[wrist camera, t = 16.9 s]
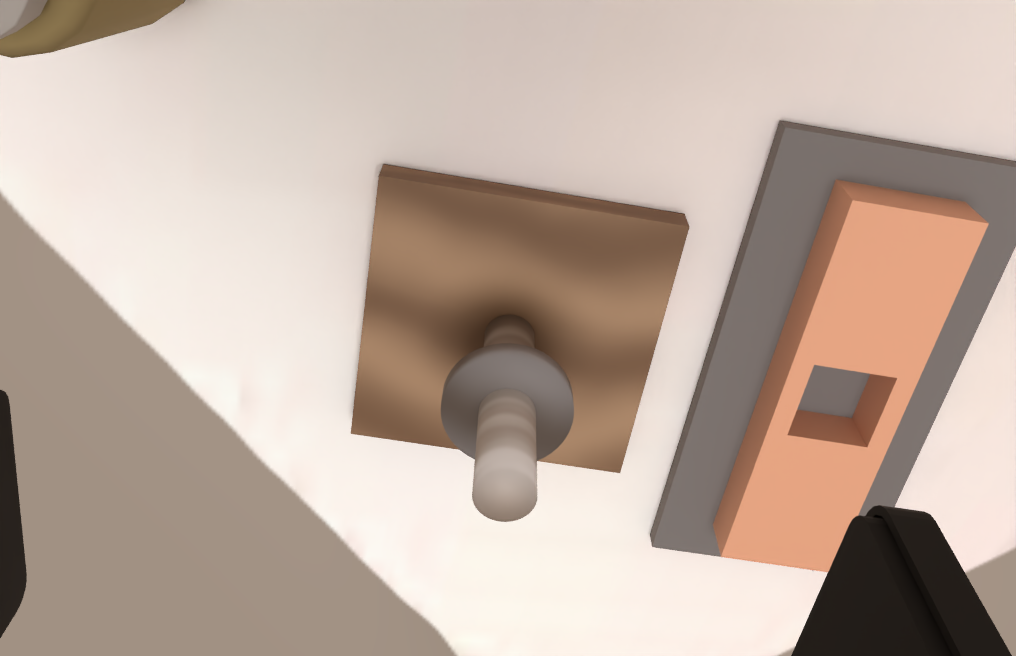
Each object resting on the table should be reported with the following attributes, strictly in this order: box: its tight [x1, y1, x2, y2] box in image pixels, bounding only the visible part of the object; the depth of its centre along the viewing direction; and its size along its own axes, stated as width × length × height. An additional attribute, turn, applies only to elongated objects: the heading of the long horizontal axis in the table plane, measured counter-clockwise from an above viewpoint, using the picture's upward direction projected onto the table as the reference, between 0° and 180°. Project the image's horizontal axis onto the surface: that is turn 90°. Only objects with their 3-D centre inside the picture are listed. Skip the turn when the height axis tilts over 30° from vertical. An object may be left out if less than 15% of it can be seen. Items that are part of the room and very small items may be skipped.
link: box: [713, 180, 989, 572], centre depth 46 cm, size 20×6×2 cm, turn 170°
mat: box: [650, 121, 1016, 557], centre depth 48 cm, size 24×12×1 cm, turn 170°
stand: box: [351, 164, 689, 522], centre depth 41 cm, size 14×14×14 cm
